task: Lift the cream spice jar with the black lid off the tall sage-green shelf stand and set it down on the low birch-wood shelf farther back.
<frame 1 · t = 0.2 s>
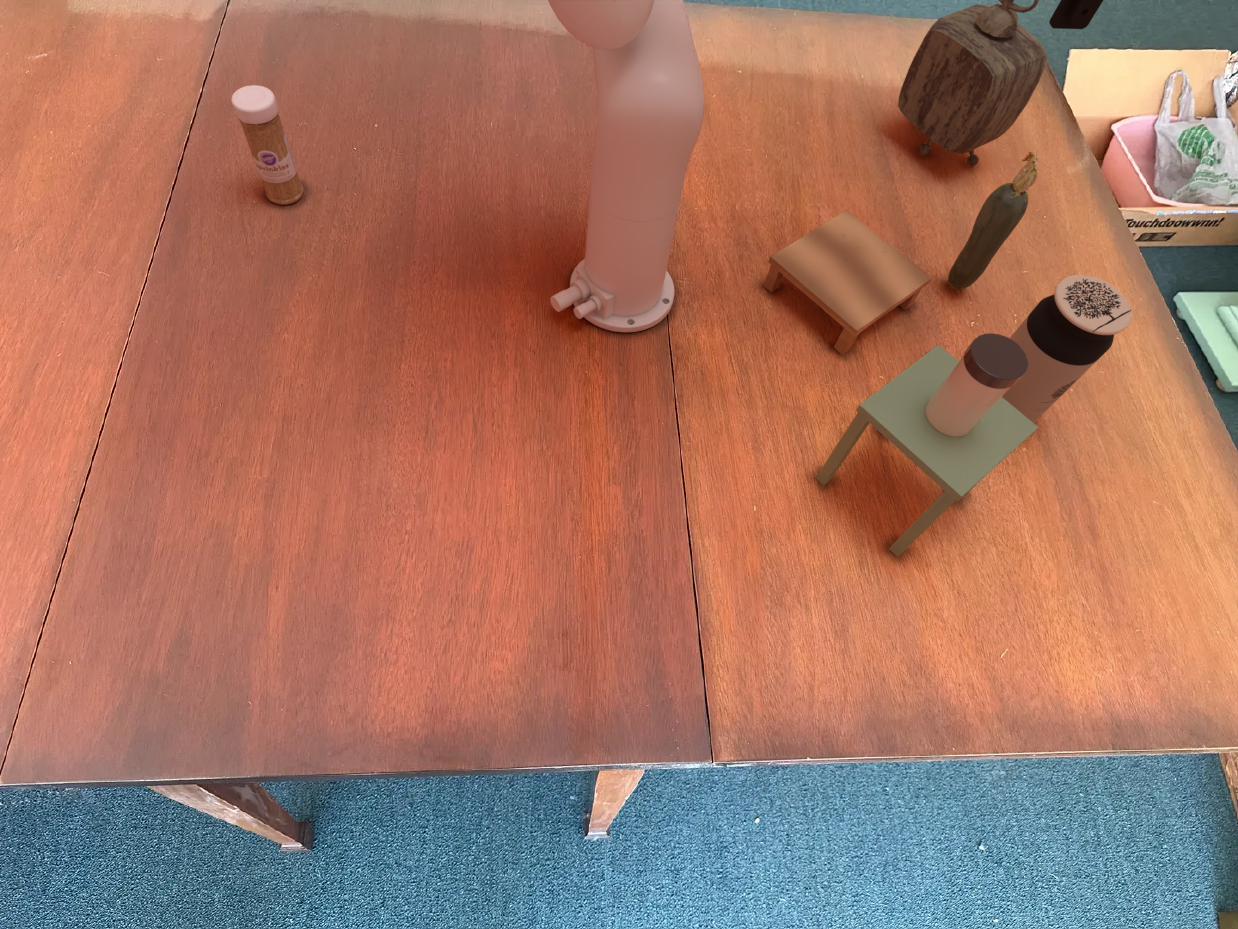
low shelf: (837, 295, 97), on the table
spice jar: (949, 415, 72), point 14 cm above the table, touching tall stand
tall stand: (889, 487, 84), on the table
sprinkles bottle: (286, 194, 97), on the table
vegetable: (949, 291, 100), on the table
travel mug: (998, 407, 91), on the table
tabletop clock: (929, 150, 114), on the table
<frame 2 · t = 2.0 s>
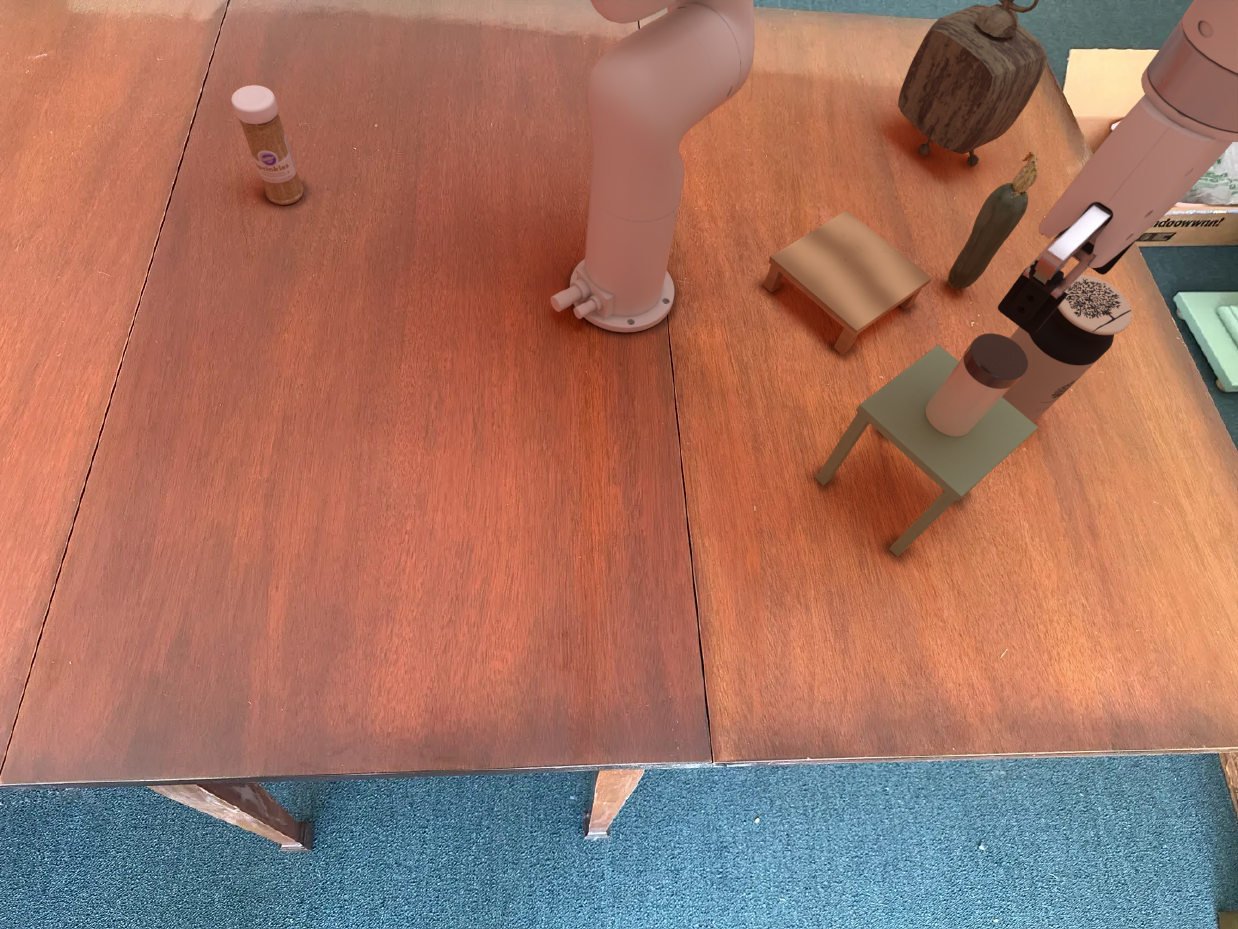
hand: (1052, 290, 58), 30 cm above the table, tool pointing down, fingers open, 9 cm apart
nothing on the table moved.
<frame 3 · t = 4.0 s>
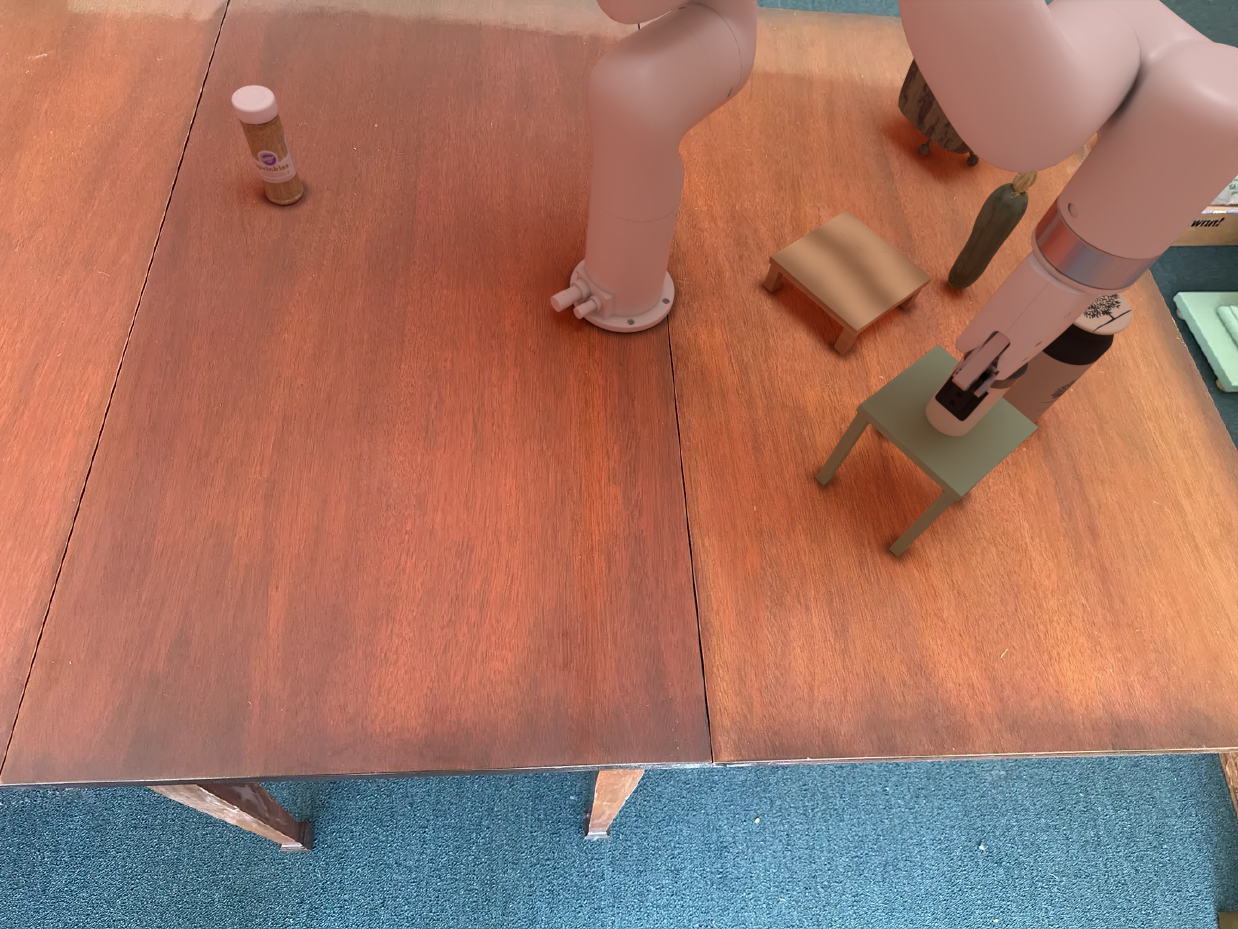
hand: (969, 392, 68), 18 cm above the table, tool pointing down, fingers closed on spice jar, 4 cm apart
spice jar: (949, 415, 72), point 14 cm above the table, touching gripper, tall stand
everything else where it was.
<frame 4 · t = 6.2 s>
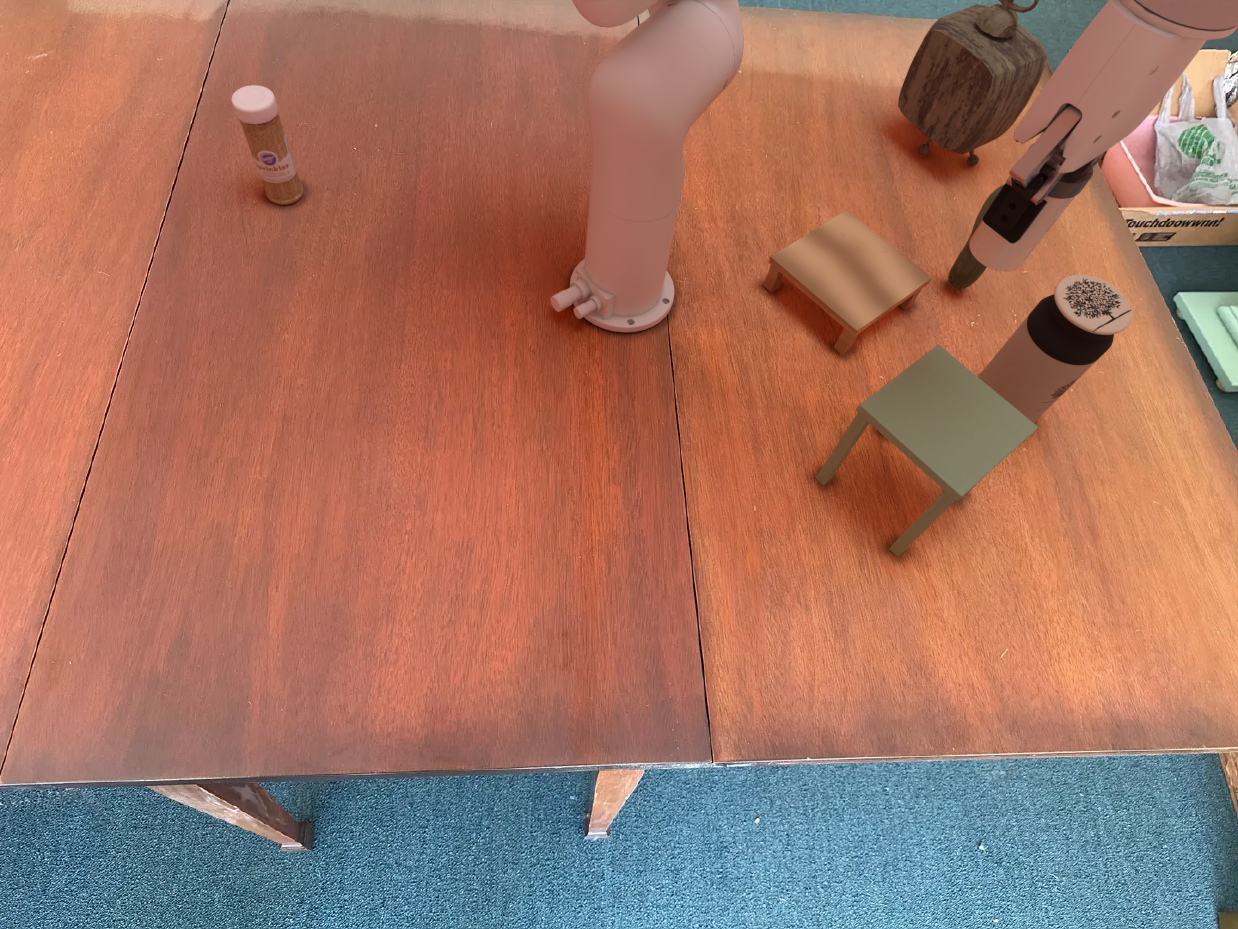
hand: (1021, 215, 61), 31 cm above the table, tool pointing down, fingers closed on spice jar, 4 cm apart
spice jar: (996, 251, 64), point 27 cm above the table, touching gripper
everything else where it was.
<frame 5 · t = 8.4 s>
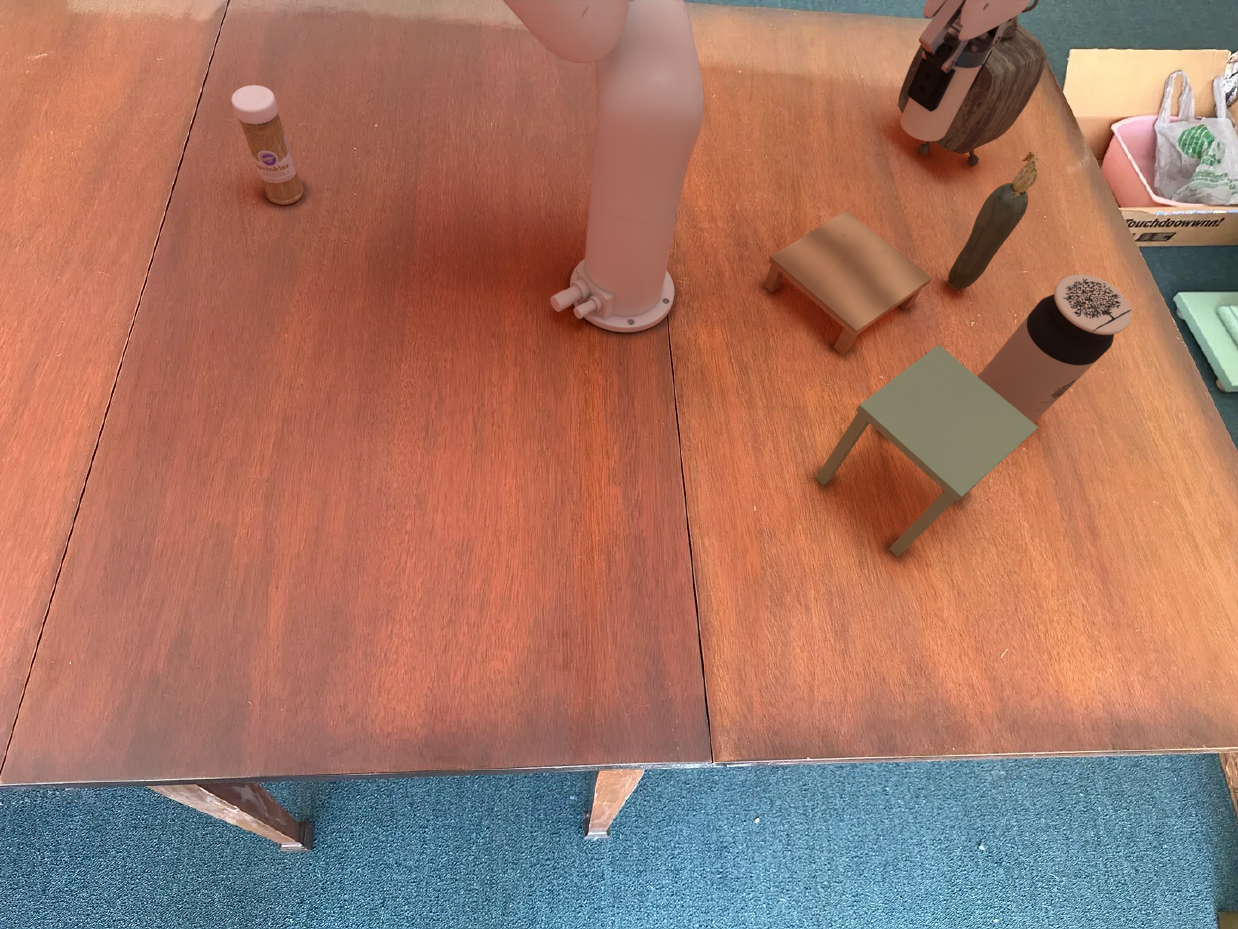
hand: (939, 90, 73), 28 cm above the table, tool pointing down, fingers closed on spice jar, 4 cm apart
spice jar: (923, 125, 76), point 24 cm above the table, touching gripper
everything else where it was.
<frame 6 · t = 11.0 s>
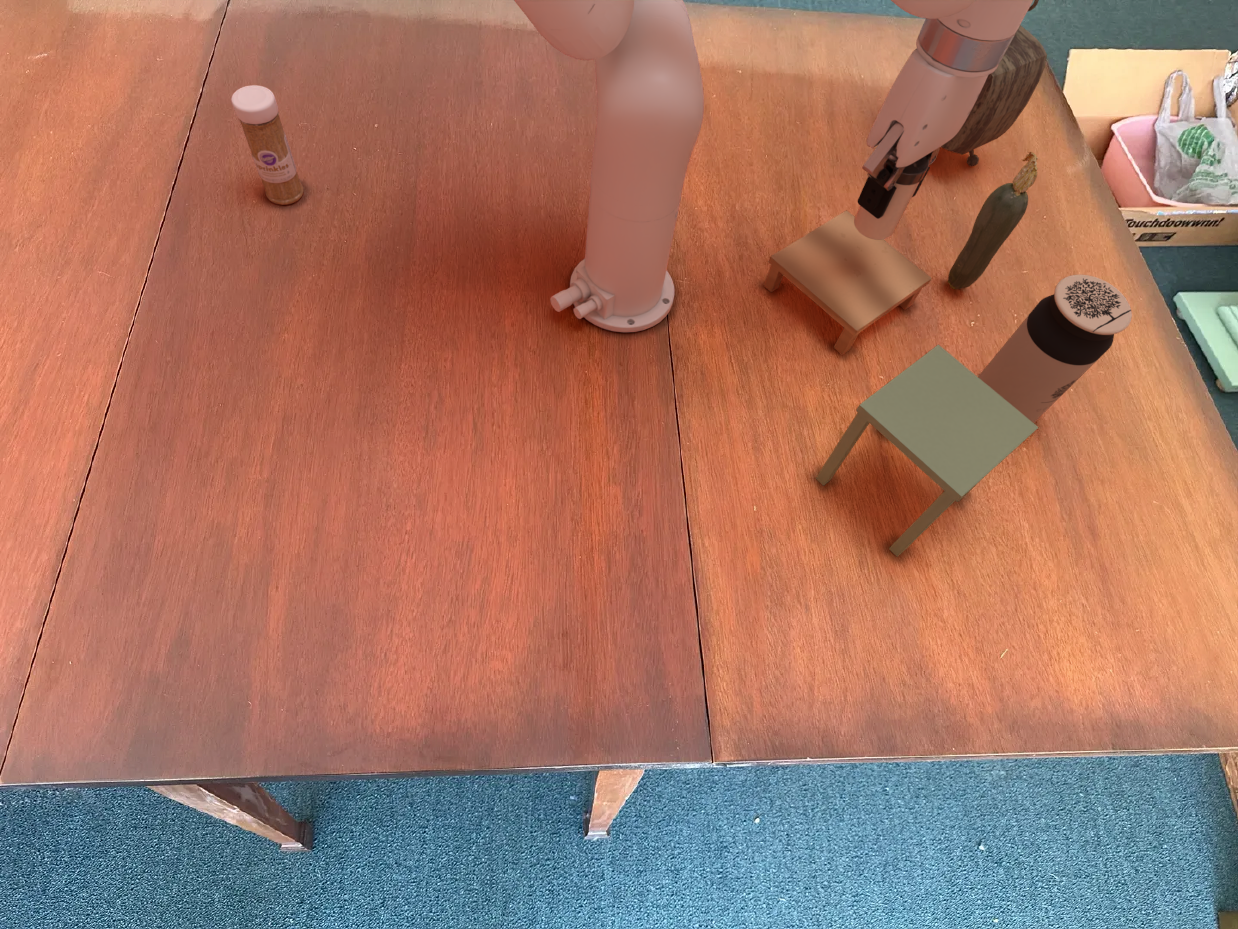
hand: (886, 198, 84), 15 cm above the table, tool pointing down, fingers closed on spice jar, 4 cm apart
spice jar: (873, 225, 87), point 12 cm above the table, touching gripper
everything else where it was.
when the fingers open (9 cm above the table, at t = 12.9 s): spice jar stays where it is, resting on low shelf.
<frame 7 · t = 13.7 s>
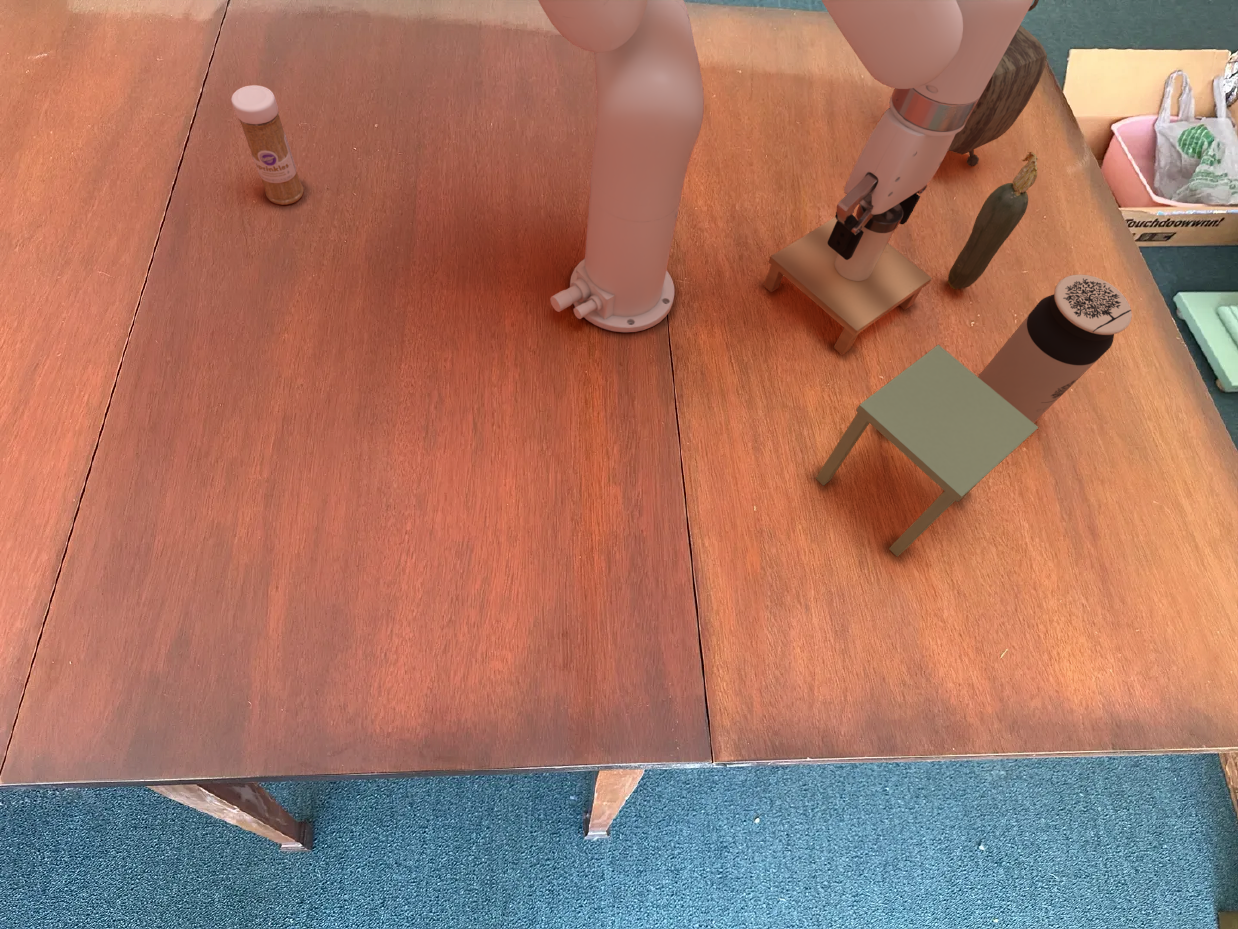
hand: (866, 233, 88), 10 cm above the table, tool pointing down, fingers open, 9 cm apart
spice jar: (853, 266, 93), point 5 cm above the table, touching low shelf
everything else where it was.
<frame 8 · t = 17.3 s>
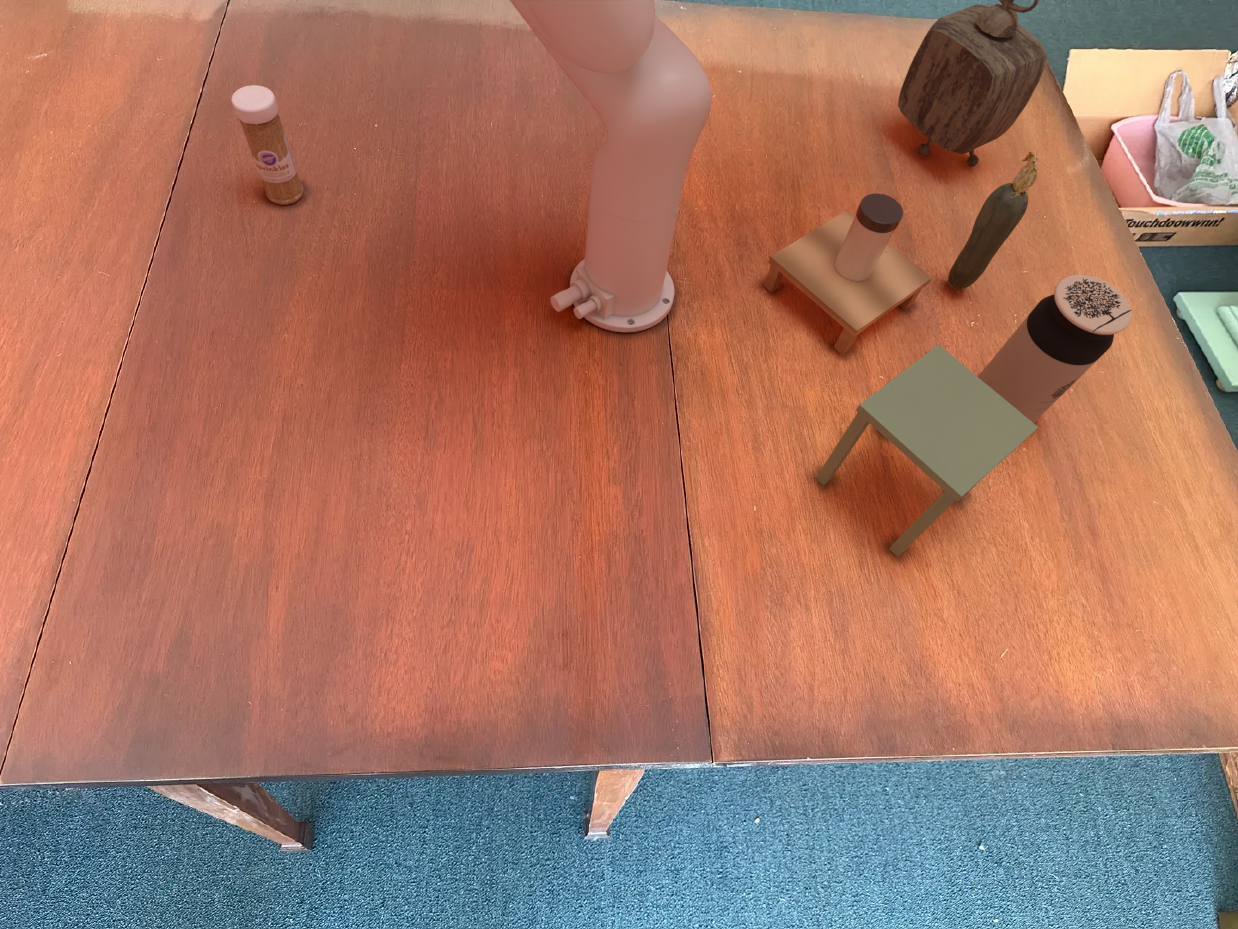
nothing on the table moved.
at the end: spice jar inside the target area on the low shelf (0.2 cm from its centre), point 5.0 cm above the low shelf's base; spice jar tilted 0°; the gripper is holding nothing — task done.
